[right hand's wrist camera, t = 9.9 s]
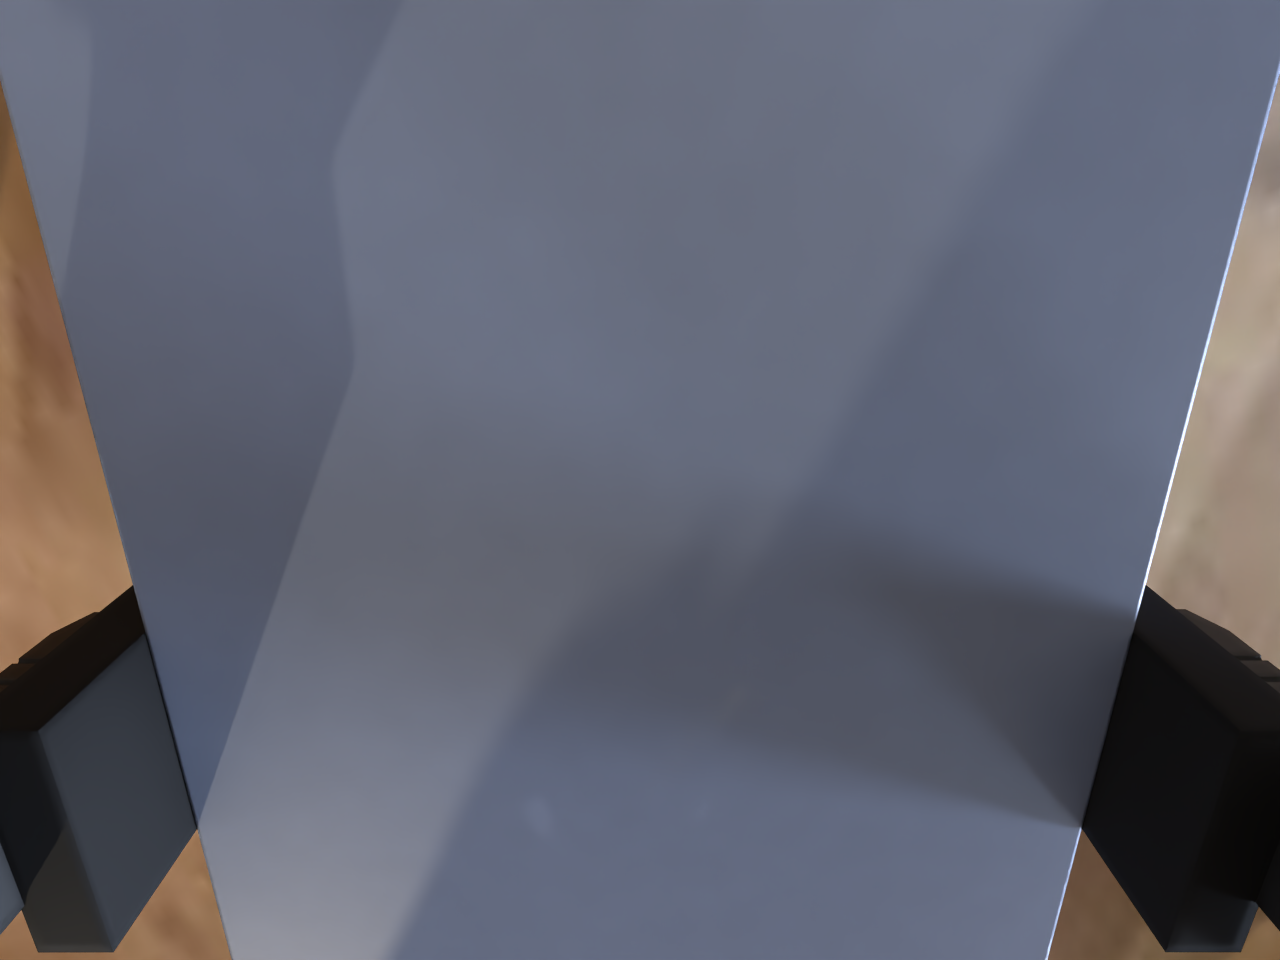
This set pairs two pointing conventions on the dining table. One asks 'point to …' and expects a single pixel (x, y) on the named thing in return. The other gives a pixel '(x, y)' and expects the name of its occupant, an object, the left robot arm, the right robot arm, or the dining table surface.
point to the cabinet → (639, 442)
